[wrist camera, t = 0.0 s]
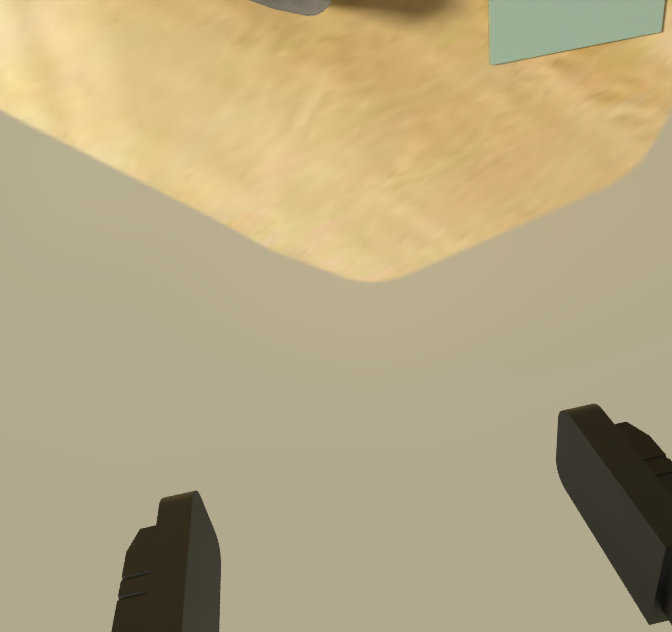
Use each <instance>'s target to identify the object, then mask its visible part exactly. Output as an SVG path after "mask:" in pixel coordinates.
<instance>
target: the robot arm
mask: <svg viewBox="0 0 672 632" xmlns="http://www.w3.org/2000/svg"><path fill="white" fill-rule="evenodd" d="M556 464H557V470H558V473H559V477H560V479H561V482H562V484H563V486H564V488H565V490H566V491H567V493H568V494H569V496H570V498H571V499H572V501H573V503H574V504H575V506H576V507H577V509H578V511H579V512H580V514H581V516H582V517H583V519H584V520H585V522H586V524H587V525H588V527H589V528H590V530H591V532H592V533H593V535H594V536H595V538H596V540H597V541H598V543H599V545H600V546H601V548H602V549H603V551H604V553H605V554H606V556H607V557H608V559H609V561H610V562H611V564H612V566H613V567H614V568H615V570H616V572H617V574H618V575H619V577H620V579H621V580H622V582H623V583H624V585H625V586H626V588H627V590H628V591H629V593H630V594H631V596H632V598H633V599H634V601H635V603H636V604H637V606H638V608H639V609H640V611H641V612H642V614H643V616H644V617H645V618H646V620H647V622H648V624H649V625H651V624H655V623H659V622H664V621H668V620H669V621H670V623H671V625H672V461H671V460H670V459H667V457H666V455H665V453H664V452H663V451H662V450H661V448H659V446H658V445H657V444H656V443H655V442H654V440H652V438H651V437H650V436H649V435H647V434H646V433H644V432H642V431H641V430H639V429H637V428H636V427H634V426H633V425H631V424H629V423H628V422H623V423H618V424H614V423H613V422H612V421H611V419H610V418H609V417H608V416H607V415H606V413H605V412H604V411H603V410H602V409H601V407H600V406H598V405H597V404H590V405H585V406H581V407H577V408H572V409H567V410H563V411H560V413H559V416H558V431H557V451H556ZM122 579H123V580H122V581H121V584H120V589H119V594H118V597H119V601H117V605H116V610H115V616H114V621H113V626H112V632H219V618H220V581H221V556H220V548H219V543H218V539H217V536H216V533H215V530H214V528H213V526H212V523H211V521H210V518H209V516H208V513H207V511H206V509H205V506H204V504H203V501H202V499H201V496H200V494H199V493H198V491H192V492H188V493H183V494H179V495H174V496H169V497H165V498H162V499H161V501H160V503H159V509H158V516H157V523H156V526H151V527H147V528H142V529H140V530H139V532H138V533H137V535H136V537H135V539H134V540H133V542H132V543H131V545H130V547H129V549H128V550H127V552H126V557H125V563H124V568H123V573H122Z"/></svg>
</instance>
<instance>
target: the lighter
mask: <svg viewBox="0 0 672 632" xmlns="http://www.w3.org/2000/svg"><path fill="white" fill-rule="evenodd" d="M250 1H253V2H256V3H259V4H261V5H264V6H267V7H270V8H273V9H277V10H282V11H287V12H291V13H296V14H301V15H306V16H314V15H317V14H319V13H321V12H323V11H324V10H325V9H326V8H327V7H328V6H329V5H330V3H331V1H332V0H250Z"/></svg>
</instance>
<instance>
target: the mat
mask: <svg viewBox="0 0 672 632" xmlns="http://www.w3.org/2000/svg"><path fill="white" fill-rule="evenodd" d="M488 1H489V52H490V65H496V64H501V63H506V62H511V61H516V60H521V59H526V58H531V57H536V56H541V55H546V54H551V53H556V52H561V51H566V50H571V49H577V48H582V47H587V46H592V45H597V44H602V43H607V42H612V41H617V40H622V39H627V38H632V37H637V36H642V35H647V34H652V33H657V32H661V29H662V21H663V13H664V4H665V0H488Z"/></svg>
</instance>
